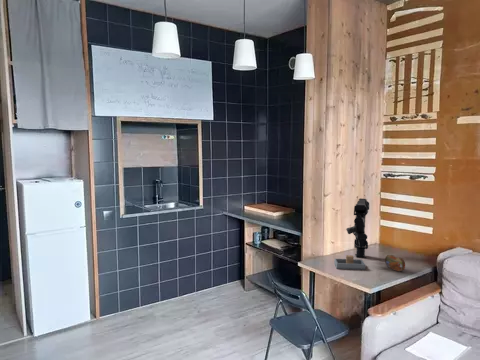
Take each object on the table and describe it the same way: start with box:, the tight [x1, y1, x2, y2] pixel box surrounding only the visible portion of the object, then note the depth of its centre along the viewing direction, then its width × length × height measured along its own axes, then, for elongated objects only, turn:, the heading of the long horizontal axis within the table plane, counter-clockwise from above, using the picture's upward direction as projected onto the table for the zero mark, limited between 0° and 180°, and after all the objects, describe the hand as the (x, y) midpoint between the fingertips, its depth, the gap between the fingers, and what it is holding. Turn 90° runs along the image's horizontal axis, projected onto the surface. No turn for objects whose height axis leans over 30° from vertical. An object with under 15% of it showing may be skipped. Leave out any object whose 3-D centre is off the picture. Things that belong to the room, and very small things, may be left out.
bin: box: [333, 258, 366, 271], centre depth 239 cm, size 11×18×4 cm, turn 83°
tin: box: [384, 254, 406, 272], centre depth 235 cm, size 15×3×8 cm, turn 21°
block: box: [345, 254, 355, 264], centre depth 239 cm, size 4×4×6 cm
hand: (359, 246), depth 248 cm, fingers open, 9 cm apart
